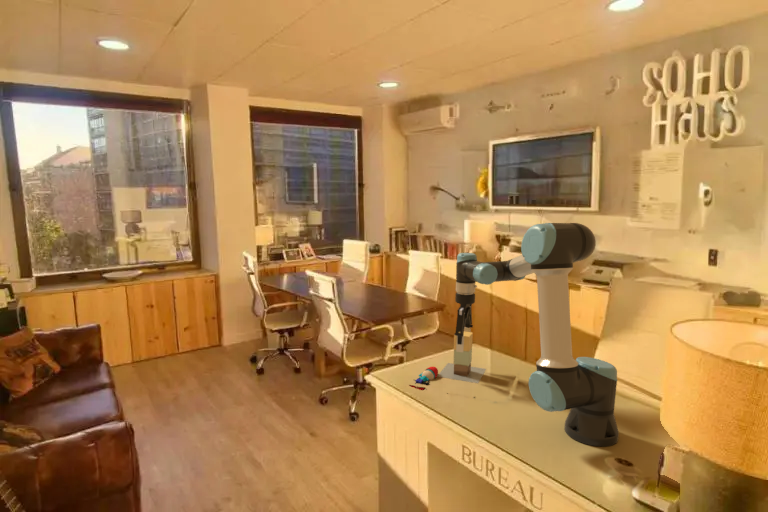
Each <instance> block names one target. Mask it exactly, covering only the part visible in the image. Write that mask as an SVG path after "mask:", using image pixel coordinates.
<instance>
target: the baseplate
mask: <svg viewBox="0 0 768 512" xmlns="http://www.w3.org/2000/svg"><path fill="white" fill-rule="evenodd" d="M486 370H487V368H483V367H476V366H471V371H470V373H469V374H468V376H462V375H456V374H454V364H453V363H450V362H448V363H446V365H445V366H444V367H443V369H442V370H441V371H440V372H438V375H437V377H438V378H444V379H450V380H456V381H462V382H467V383H468V382H469V383H474V384H479V383H480V381H481V379H482V377H483V376H484V374H485V372H486ZM437 377H436V378H437Z"/></svg>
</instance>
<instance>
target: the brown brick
mask: <svg viewBox="0 0 768 512" xmlns="http://www.w3.org/2000/svg"><path fill="white" fill-rule="evenodd" d="M471 367H472V362H471V363H470V365H469V366H463V365H457V364H454V374H456V375H462V376H468V374H469V373H470V371H471Z"/></svg>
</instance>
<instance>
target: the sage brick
mask: <svg viewBox="0 0 768 512" xmlns="http://www.w3.org/2000/svg"><path fill="white" fill-rule="evenodd" d="M472 353H473V347H472V348H471V349H470V351H469V352H467V351H464V352H463V353H462V352H456V350H454V349H453V363H452V364H457V365H463V366H469V365H470V363H471V364H472V359H473V358H472V356H473V355H472Z"/></svg>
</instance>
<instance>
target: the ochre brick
mask: <svg viewBox="0 0 768 512" xmlns="http://www.w3.org/2000/svg"><path fill="white" fill-rule="evenodd" d="M473 335H474V332H472V331H470V332H465V331H464V335H463V336H464V351H467V352H469V351H470V349H471V348H472V349H473V340H474V339H473V337H474V336H473ZM456 341H457V336H456V335H455V333H454V335H453V351H454V350H456Z"/></svg>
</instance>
